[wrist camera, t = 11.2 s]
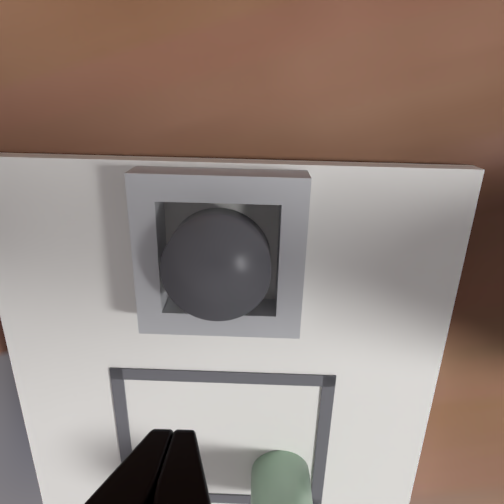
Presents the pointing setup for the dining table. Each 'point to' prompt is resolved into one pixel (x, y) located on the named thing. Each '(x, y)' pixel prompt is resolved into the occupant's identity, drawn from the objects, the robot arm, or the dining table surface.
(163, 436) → the robot arm
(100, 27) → the dining table surface
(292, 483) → the cylinder
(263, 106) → the dining table surface
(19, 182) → the board
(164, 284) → the button
